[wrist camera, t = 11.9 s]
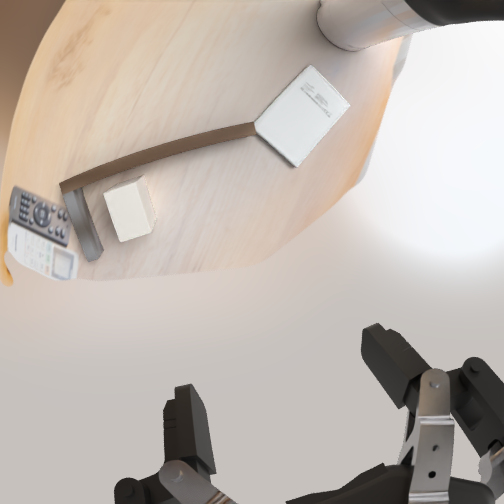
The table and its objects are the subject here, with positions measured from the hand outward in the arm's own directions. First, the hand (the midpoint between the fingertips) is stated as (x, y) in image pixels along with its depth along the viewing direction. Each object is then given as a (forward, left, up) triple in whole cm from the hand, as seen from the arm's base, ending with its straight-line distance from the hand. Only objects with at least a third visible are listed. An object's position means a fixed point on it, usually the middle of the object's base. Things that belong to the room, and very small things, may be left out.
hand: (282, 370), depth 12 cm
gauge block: (-4, -10, -28) cm, 30 cm away
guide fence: (-5, -6, -28) cm, 29 cm away
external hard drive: (-10, +14, -29) cm, 34 cm away
